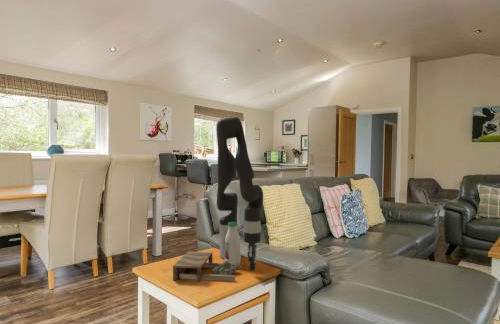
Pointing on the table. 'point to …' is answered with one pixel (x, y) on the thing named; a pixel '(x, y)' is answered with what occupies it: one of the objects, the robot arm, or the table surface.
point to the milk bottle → (232, 244)
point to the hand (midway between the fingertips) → (252, 270)
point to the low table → (199, 267)
